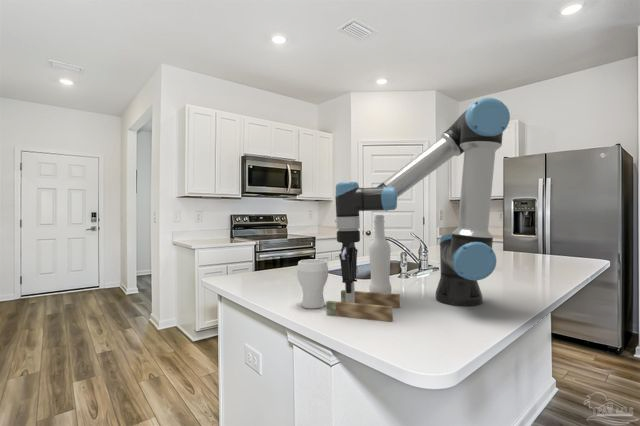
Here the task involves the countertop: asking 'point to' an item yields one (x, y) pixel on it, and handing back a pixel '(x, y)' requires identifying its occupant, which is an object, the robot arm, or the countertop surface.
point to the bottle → (379, 259)
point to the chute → (365, 306)
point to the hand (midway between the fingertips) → (350, 302)
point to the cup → (312, 281)
